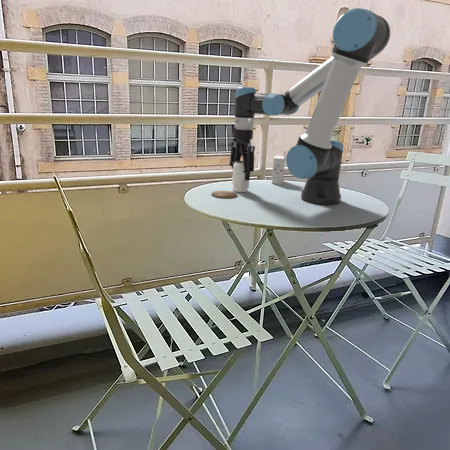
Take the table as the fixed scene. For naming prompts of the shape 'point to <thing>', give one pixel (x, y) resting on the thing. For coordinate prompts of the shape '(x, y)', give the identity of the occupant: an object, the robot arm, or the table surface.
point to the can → (238, 177)
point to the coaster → (224, 194)
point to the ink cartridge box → (278, 169)
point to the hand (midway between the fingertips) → (240, 186)
